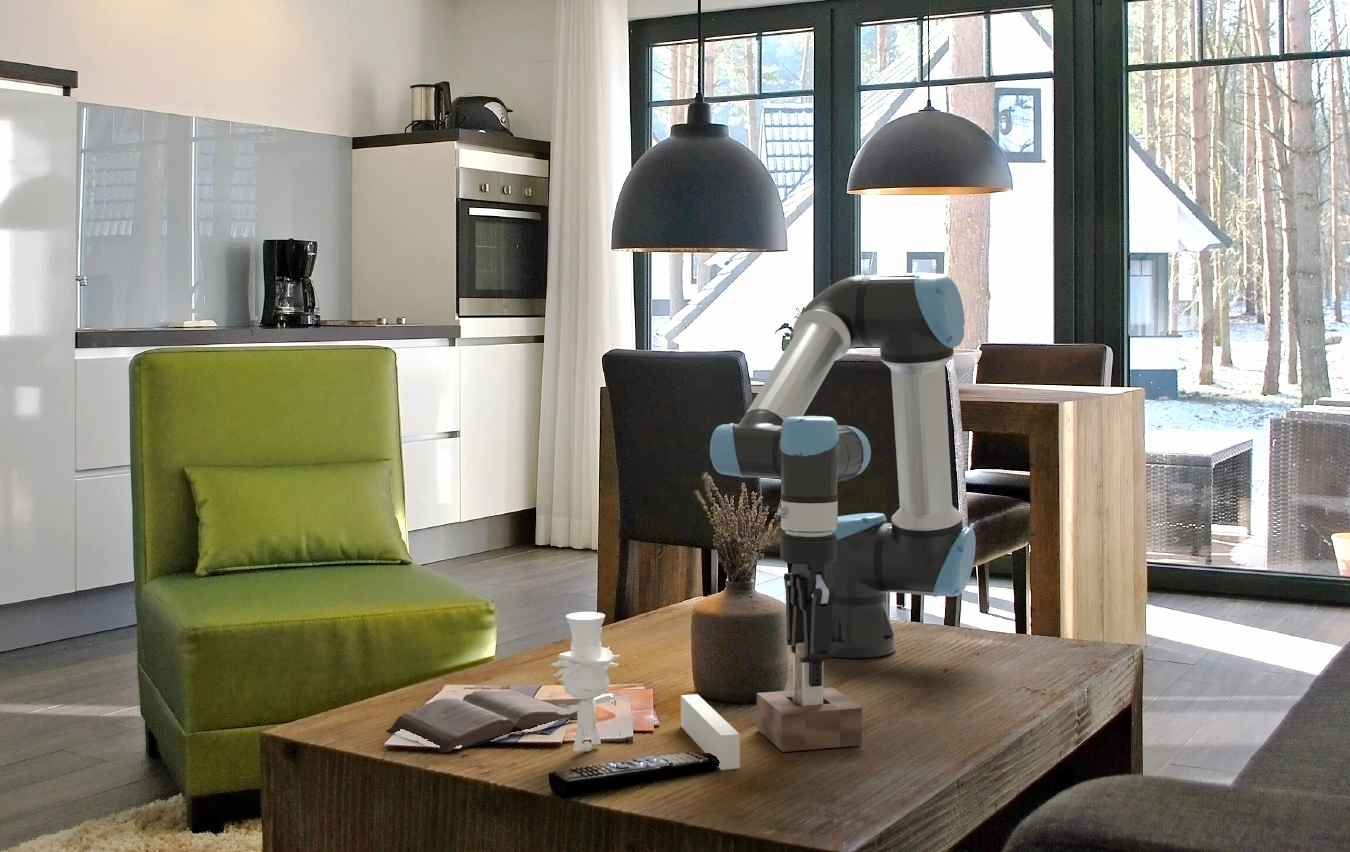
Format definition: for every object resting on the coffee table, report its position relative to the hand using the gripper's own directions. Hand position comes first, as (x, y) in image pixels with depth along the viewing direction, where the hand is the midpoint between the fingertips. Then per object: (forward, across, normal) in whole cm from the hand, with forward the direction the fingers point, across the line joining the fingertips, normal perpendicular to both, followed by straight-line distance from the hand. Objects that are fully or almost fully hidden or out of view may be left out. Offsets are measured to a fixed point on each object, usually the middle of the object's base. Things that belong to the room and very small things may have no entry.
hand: (807, 705), depth 189 cm
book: (+6, -19, -41) cm, 45 cm away
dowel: (+4, 0, 0) cm, 4 cm away
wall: (+5, 0, -14) cm, 15 cm away
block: (+5, 0, 0) cm, 5 cm away
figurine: (+5, -2, -30) cm, 30 cm away
